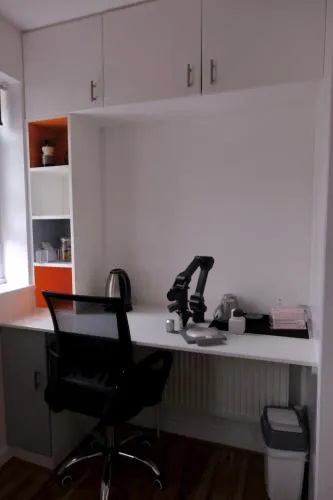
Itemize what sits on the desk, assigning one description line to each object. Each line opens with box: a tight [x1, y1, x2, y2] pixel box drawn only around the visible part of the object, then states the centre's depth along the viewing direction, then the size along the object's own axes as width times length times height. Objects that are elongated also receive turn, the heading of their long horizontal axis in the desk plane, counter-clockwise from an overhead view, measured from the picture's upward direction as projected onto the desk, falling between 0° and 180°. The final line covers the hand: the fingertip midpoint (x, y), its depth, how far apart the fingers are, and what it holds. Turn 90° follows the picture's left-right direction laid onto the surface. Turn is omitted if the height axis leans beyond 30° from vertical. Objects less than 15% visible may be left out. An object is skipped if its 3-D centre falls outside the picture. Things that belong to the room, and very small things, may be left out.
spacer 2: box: [178, 316, 188, 330], centre depth 178 cm, size 4×4×6 cm
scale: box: [178, 326, 228, 347], centre depth 163 cm, size 20×20×3 cm
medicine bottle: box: [228, 308, 246, 335], centre depth 171 cm, size 7×7×12 cm
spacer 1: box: [165, 318, 175, 334], centre depth 173 cm, size 4×4×6 cm
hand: (182, 325), depth 179 cm, fingers closed on spacer 2, 4 cm apart
